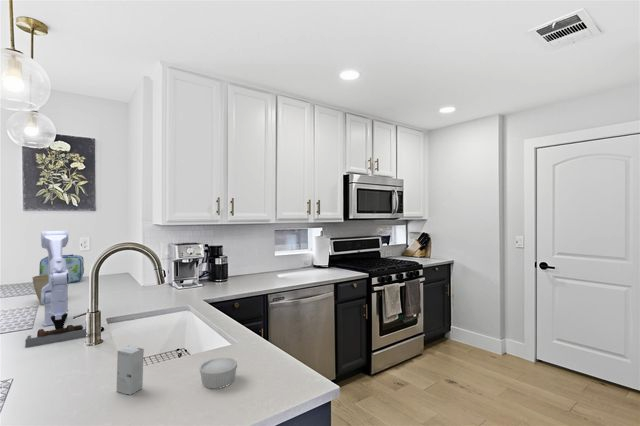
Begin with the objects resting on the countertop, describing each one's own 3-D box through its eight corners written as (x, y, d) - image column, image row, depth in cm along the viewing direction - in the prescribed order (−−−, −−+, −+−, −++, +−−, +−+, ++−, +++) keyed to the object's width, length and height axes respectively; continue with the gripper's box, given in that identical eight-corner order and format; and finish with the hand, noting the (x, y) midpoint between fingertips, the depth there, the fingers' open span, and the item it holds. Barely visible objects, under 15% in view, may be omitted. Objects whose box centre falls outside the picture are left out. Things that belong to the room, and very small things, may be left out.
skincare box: (115, 391, 99) (115, 350, 99) (129, 384, 103) (129, 344, 103) (130, 395, 96) (130, 353, 96) (144, 388, 101) (144, 347, 101)
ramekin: (207, 373, 110) (207, 356, 110) (241, 373, 110) (241, 357, 110) (193, 391, 99) (193, 373, 99) (231, 391, 99) (231, 373, 99)
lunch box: (85, 279, 263) (85, 252, 263) (82, 282, 253) (81, 254, 253) (43, 282, 252) (43, 254, 252) (38, 285, 242) (38, 256, 242)
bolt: (82, 337, 147) (38, 346, 136) (79, 329, 150) (36, 337, 138) (85, 327, 145) (40, 335, 134) (82, 319, 148) (38, 326, 137)
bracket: (28, 341, 137) (28, 334, 137) (87, 331, 148) (87, 324, 148) (25, 347, 131) (25, 339, 131) (88, 336, 143) (88, 329, 143)
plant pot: (64, 304, 193) (64, 276, 193) (30, 308, 184) (30, 279, 184) (66, 298, 205) (66, 272, 205) (34, 302, 197) (34, 275, 197)
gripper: (48, 298, 148) (49, 329, 148) (45, 305, 136) (45, 339, 136) (68, 295, 152) (69, 326, 152) (67, 303, 140) (67, 335, 140)
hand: (59, 332), depth 144 cm, fingers closed
